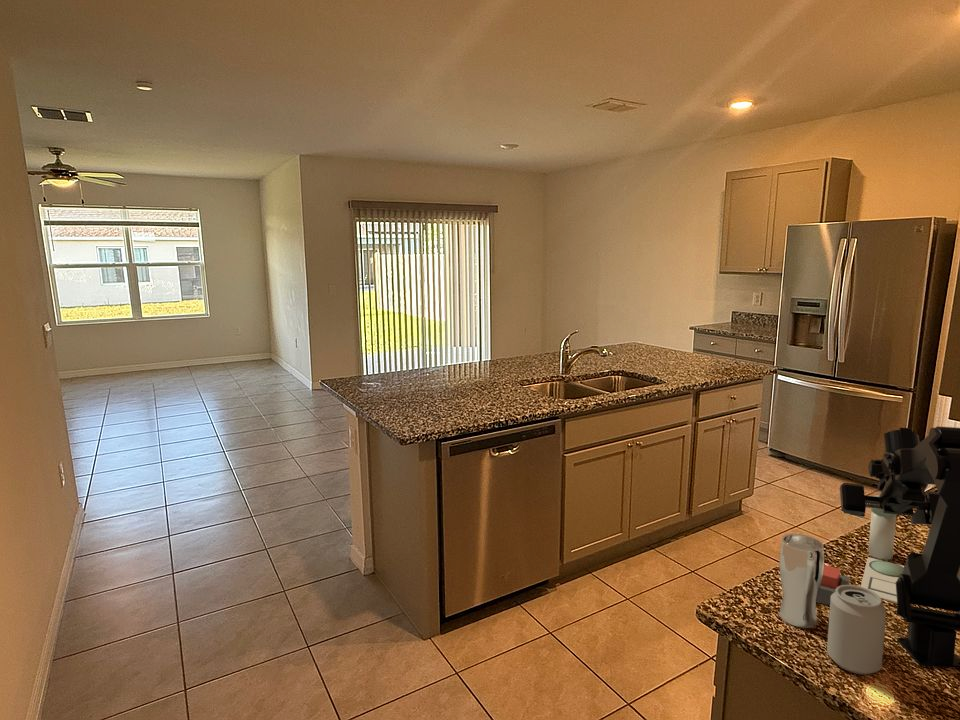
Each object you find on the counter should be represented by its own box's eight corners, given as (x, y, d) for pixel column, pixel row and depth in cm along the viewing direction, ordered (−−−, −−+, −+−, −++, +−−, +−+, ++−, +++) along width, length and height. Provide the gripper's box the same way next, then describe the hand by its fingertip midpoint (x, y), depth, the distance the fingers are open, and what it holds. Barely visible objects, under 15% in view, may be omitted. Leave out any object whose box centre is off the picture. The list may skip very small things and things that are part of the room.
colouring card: (907, 606, 106) (907, 604, 106) (859, 593, 111) (859, 591, 111) (911, 568, 119) (911, 567, 119) (867, 558, 124) (867, 556, 124)
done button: (836, 593, 108) (837, 578, 107) (809, 585, 111) (810, 571, 110) (839, 583, 111) (840, 568, 111) (813, 576, 114) (814, 562, 113)
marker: (891, 562, 122) (896, 505, 120) (865, 555, 125) (870, 499, 123) (894, 554, 125) (899, 498, 123) (869, 547, 128) (874, 493, 126)
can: (864, 647, 95) (869, 581, 94) (891, 679, 88) (898, 608, 86) (817, 646, 96) (822, 580, 94) (841, 677, 89) (846, 607, 87)
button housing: (844, 609, 106) (845, 595, 105) (798, 596, 111) (799, 582, 110) (849, 591, 112) (850, 577, 111) (805, 579, 116) (806, 565, 116)
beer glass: (797, 633, 100) (802, 553, 97) (768, 611, 106) (771, 536, 104) (829, 625, 102) (834, 547, 99) (798, 604, 108) (802, 530, 106)
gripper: (956, 456, 111) (933, 489, 122) (844, 447, 118) (832, 478, 130) (966, 510, 105) (941, 539, 117) (848, 497, 112) (836, 525, 124)
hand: (885, 518), depth 122 cm, fingers open, 9 cm apart
